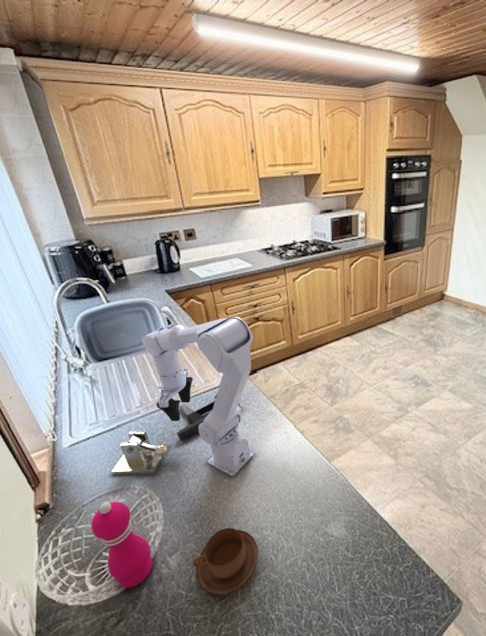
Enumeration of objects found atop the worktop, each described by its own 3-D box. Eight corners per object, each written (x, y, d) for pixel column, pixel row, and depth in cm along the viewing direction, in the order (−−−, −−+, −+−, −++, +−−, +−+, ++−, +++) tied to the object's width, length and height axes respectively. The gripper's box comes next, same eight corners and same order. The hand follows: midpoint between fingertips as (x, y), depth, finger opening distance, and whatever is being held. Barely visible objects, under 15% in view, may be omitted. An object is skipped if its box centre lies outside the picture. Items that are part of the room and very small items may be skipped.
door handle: (160, 413, 109) (181, 436, 98) (218, 384, 122) (242, 402, 111) (163, 421, 111) (184, 445, 100) (219, 392, 123) (244, 411, 112)
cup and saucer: (210, 614, 63) (203, 596, 60) (190, 559, 72) (183, 540, 69) (269, 570, 69) (265, 552, 66) (244, 524, 78) (240, 506, 75)
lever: (168, 451, 96) (170, 443, 95) (163, 460, 93) (165, 452, 92) (131, 441, 95) (133, 433, 93) (125, 450, 92) (127, 442, 91)
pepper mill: (145, 544, 75) (116, 480, 66) (161, 567, 71) (133, 501, 62) (109, 573, 70) (73, 508, 61) (125, 599, 66) (88, 533, 57)
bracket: (168, 447, 100) (161, 425, 96) (153, 473, 92) (145, 450, 88) (130, 448, 100) (121, 426, 96) (112, 474, 92) (102, 451, 88)
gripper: (166, 356, 99) (177, 394, 105) (141, 387, 86) (155, 429, 92) (190, 355, 99) (200, 394, 104) (169, 387, 85) (181, 428, 91)
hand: (181, 410), depth 98 cm, fingers open, 7 cm apart
